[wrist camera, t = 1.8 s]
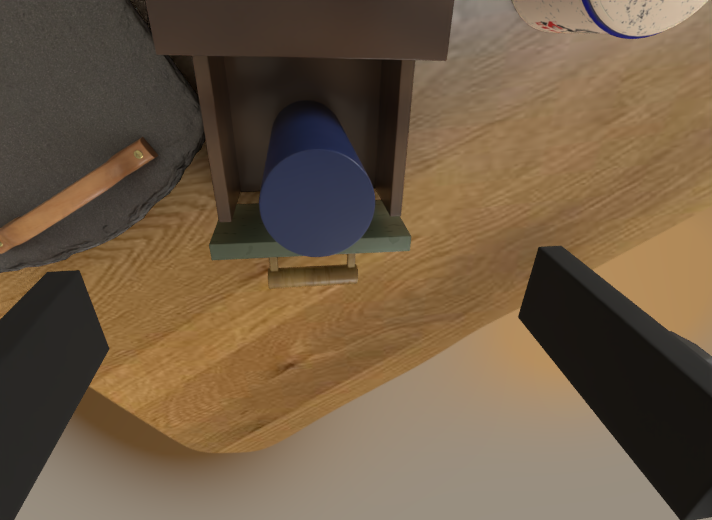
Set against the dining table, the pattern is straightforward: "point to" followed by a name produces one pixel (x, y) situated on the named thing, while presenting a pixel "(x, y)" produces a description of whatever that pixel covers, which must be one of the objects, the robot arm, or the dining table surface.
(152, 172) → the serving tray
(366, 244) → the drawer
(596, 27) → the teacup with lid
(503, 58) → the dining table surface
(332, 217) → the navy cylinder
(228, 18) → the cabinet
